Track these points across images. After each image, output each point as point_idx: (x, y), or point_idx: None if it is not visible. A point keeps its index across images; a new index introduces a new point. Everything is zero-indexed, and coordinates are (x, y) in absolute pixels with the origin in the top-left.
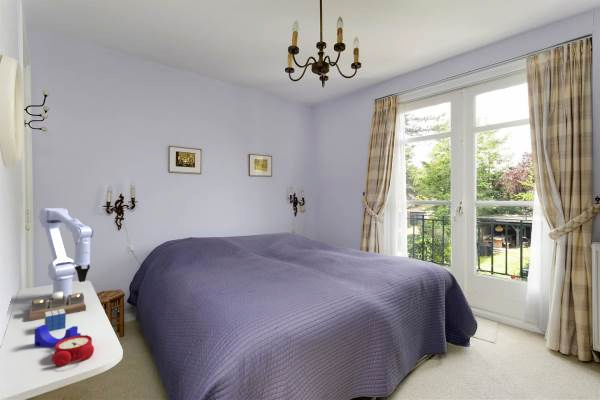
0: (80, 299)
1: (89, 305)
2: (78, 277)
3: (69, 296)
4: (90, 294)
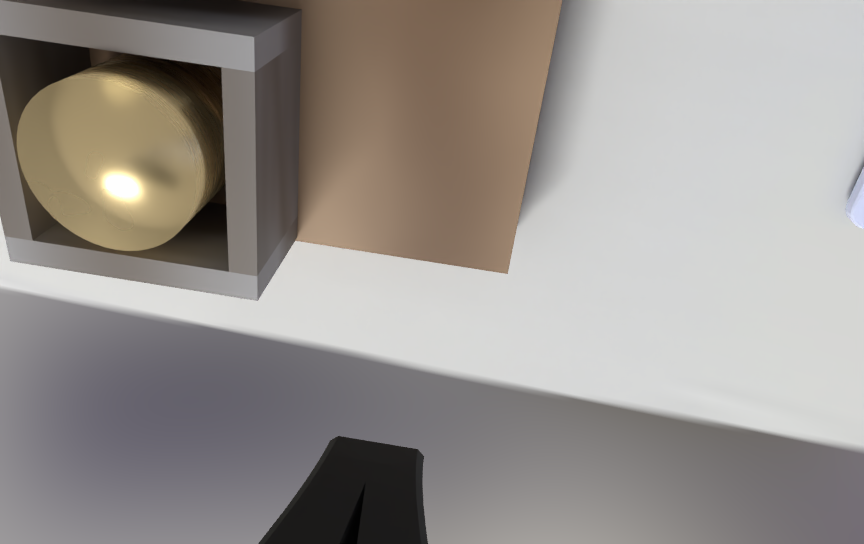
0: None
1: None
2: (263, 542)
3: (106, 43)
4: (741, 414)
